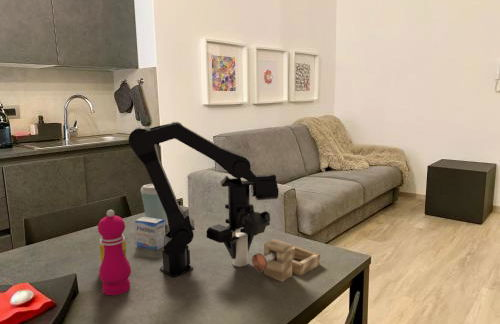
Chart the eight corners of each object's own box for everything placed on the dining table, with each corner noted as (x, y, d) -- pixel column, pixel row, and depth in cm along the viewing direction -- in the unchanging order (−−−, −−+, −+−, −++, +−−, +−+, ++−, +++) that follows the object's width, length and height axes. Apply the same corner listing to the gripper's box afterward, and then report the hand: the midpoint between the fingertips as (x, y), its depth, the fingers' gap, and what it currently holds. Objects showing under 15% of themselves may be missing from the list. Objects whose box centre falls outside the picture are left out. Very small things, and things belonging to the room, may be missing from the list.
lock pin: (264, 273, 92) (263, 257, 92) (252, 268, 95) (251, 252, 94) (286, 261, 98) (286, 246, 98) (274, 257, 101) (274, 242, 100)
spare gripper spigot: (239, 268, 104) (239, 239, 102) (228, 263, 107) (228, 235, 105) (251, 262, 107) (251, 235, 105) (240, 258, 110) (239, 231, 108)
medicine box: (136, 247, 119) (134, 220, 117) (145, 242, 123) (143, 215, 122) (157, 250, 116) (156, 223, 115) (166, 245, 120) (164, 218, 119)
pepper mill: (122, 298, 90) (116, 215, 86) (94, 295, 91) (86, 213, 87) (137, 283, 97) (132, 206, 93) (111, 280, 98) (104, 204, 94)
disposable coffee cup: (142, 221, 142) (140, 181, 139) (172, 219, 145) (170, 179, 142) (142, 231, 132) (139, 189, 129) (174, 228, 135) (172, 186, 132)
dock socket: (286, 283, 95) (286, 251, 94) (260, 272, 101) (260, 241, 100) (320, 264, 105) (320, 235, 104) (294, 255, 111) (294, 227, 110)
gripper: (234, 215, 91) (235, 277, 94) (284, 199, 104) (284, 253, 107) (204, 206, 99) (206, 263, 102) (254, 192, 112) (255, 243, 115)
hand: (239, 256), depth 106 cm, fingers closed on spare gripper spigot, 4 cm apart
